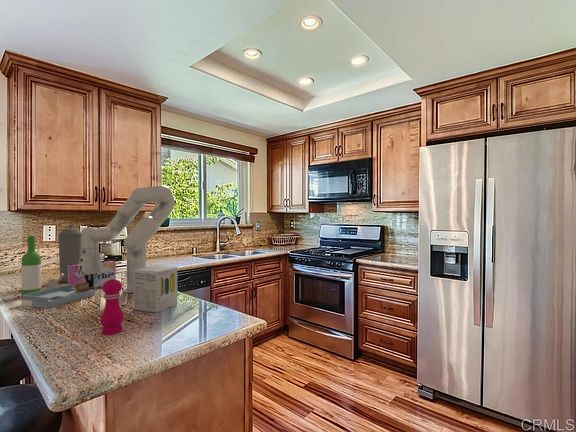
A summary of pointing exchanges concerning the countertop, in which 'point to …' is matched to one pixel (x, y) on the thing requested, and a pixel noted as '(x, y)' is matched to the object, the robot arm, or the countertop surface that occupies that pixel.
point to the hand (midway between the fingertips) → (89, 286)
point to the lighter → (54, 282)
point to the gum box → (99, 280)
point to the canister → (69, 249)
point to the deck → (54, 296)
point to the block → (81, 287)
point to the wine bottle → (31, 269)
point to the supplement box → (155, 288)
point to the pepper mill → (112, 307)
